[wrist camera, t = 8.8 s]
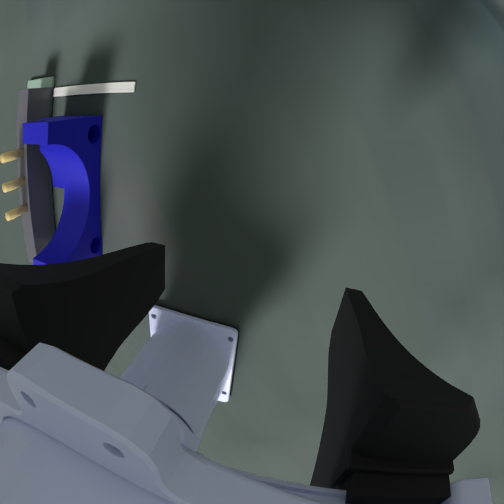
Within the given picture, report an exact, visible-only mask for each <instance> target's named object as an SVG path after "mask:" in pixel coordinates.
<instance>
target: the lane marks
mask: <svg viewBox="0 0 504 504" xmlns="http://www.w3.org/2000/svg"><path fill="white" fill-rule="evenodd" d="M135 84H136V82H115V83H99V84H87V85H77V86H67V87H59V88H54V96H53V97H58V96H68V95H80V94H96V93H120V92H135Z"/></svg>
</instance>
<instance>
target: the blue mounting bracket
mask: <svg viewBox="0 0 504 504" xmlns="http://www.w3.org/2000/svg"><path fill="white" fill-rule="evenodd" d="M101 128H102V116H58V117H51V118H44V119H41V120H39V121H32V122H26V123H23V144H38V145H40V152H41V153H42V154H43V155H44V157H45V158H46V160H47V162H48V164H49V167H50V169H51V173H52V178H53V186H54V187H60V188H65V193H64V205H63V210H62V215H61V218H60V221H59V224H58V227H57V229H56V231H55V233H54V235H53V237H52V239H51V240H50V242H49V243H48V245H47V246H46V247H45V248H44V249H43V250H42V251H41V252H40V253H39V254H38V255H37V256H35V257H34V258H33V263H34V265H45V264H56V263H65V262H72V261H78V260H83V259H88V258H92V257H96V256H99V255H102V241H101V221H100V148H101Z"/></svg>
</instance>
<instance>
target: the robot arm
mask: <svg viewBox="0 0 504 504" xmlns="http://www.w3.org/2000/svg"><path fill="white" fill-rule="evenodd" d="M164 289H165V245H161V244H157V243H153V242H151V243H144V244H140V245H136V246H132V247H129V248H125V249H122V250H118V251H115V252H111V253H107V254H103V255H99V256H96V257H92V258H88V259H83V260H78V261H72V262H65V263H56V264H45V265H14V264H2V263H0V504H492V500H491V493H490V487H489V481H488V478H478V479H466V480H459V481H456V482H453V483H451V484H450V481H449V475H451V474H452V473H453V471H454V465H453V460H454V459H455V458H456V457H457V456H458V455H459V454H460V453H461V452H462V451H463V450H464V449H465V448H466V447H467V446H468V445H469V444H470V443H471V442H472V440H473V439H474V438H475V436H476V435H477V433H478V431H479V428H480V418H479V415H478V411H477V408H476V405H475V401H474V398H473V397H472V396H470V395H468V394H467V393H465V392H463V391H461V390H459V389H457V388H456V387H454V386H452V385H450V384H449V383H447V382H446V381H444V380H443V379H441V378H440V377H438V376H437V375H436V374H434V373H433V372H432V371H430V370H429V369H428V368H426V367H425V366H424V365H423V364H422V363H420V362H419V361H418V360H417V359H416V358H415V357H414V356H412V355H411V354H410V353H409V352H408V351H407V350H406V349H405V348H404V346H403V345H402V344H401V343H400V342H399V341H398V340H397V339H396V338H395V337H394V335H393V334H392V333H391V332H390V330H389V329H388V328H387V327H386V325H385V324H384V323H383V321H382V320H381V319H380V317H379V316H378V314H377V313H376V311H375V310H374V309H373V307H372V306H371V304H370V303H369V301H368V300H367V298H366V297H365V295H364V294H363V292H362V291H359V290H355V289H350V288H346V289H345V292H344V295H343V298H342V302H341V305H340V308H339V311H338V314H337V317H336V320H335V323H334V326H333V329H332V333H331V340H330V347H329V358H328V396H327V409H326V415H325V421H324V427H323V432H322V437H321V442H320V447H319V451H318V456H317V460H316V464H315V468H314V472H313V476H312V480H311V484H310V485H304V484H298V483H293V482H288V481H283V480H278V479H273V478H269V477H264V476H260V475H256V474H252V473H248V472H244V471H240V470H237V469H233V468H229V467H226V466H223V465H221V464H219V463H217V462H215V461H212V460H210V459H208V458H206V457H205V456H204V455H203V454H201V453H199V452H197V449H198V447H199V445H200V443H201V441H202V440H201V436H202V433H203V431H204V429H205V427H206V425H207V422H208V420H209V418H210V416H211V414H212V411H213V409H214V407H215V405H216V403H217V400H219V401H222V402H227V401H228V400H229V397H230V390H231V383H232V375H233V368H234V361H235V354H236V347H237V339H238V331H237V330H236V329H235V328H232V327H229V326H225V325H221V324H218V323H214V322H210V321H207V320H203V319H200V318H197V317H193V316H190V315H186V314H183V313H180V312H176V311H173V310H170V309H167V308H163V307H160V306H157V305H155V304H156V302H157V301H158V299H159V297H160V296H161V294H162V293H163V291H164ZM148 313H149V321H150V335H151V338H150V339H149V340H148V342H147V343H146V344H145V346H144V347H143V348H142V349H141V351H140V352H139V353H138V354H137V356H136V357H135V358H134V359H133V361H132V362H131V363H130V364H129V366H128V367H127V368H126V370H125V371H124V372H123V373H122V375H121V376H120V377H119V378H118V377H116V376H114V375H111V374H109V373H107V372H105V371H104V370H105V368H106V367H107V365H108V363H109V362H110V360H111V359H112V357H113V356H114V354H115V352H116V351H117V349H118V348H119V347H120V345H121V344H122V343H123V341H124V340H125V339H126V338H127V337H128V336H129V334H130V333H131V332H132V331H133V330H134V329H135V327H136V326H137V325H138V324H139V323H140V322H141V321H142V320H143V318H144V317H145V316H146V315H147V314H148ZM154 314H155V315H156V316H155V315H154ZM229 337H232V338H233V339H231V338H229Z"/></svg>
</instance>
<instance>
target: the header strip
mask: <svg viewBox="0 0 504 504" xmlns="http://www.w3.org/2000/svg"><path fill="white" fill-rule="evenodd" d="M54 78H55V76H52V77H46V78H41V79H36V80H31V81H28V89H23V90H18V105H17V150H13V151H9V152H6V153H2V154H1V155H0V160H1V162H2V163H5V162H8V161H12V160H15V159H17V169H18V178H17V179H14V180H11V181H9V182H6V183H3V184H2V190H3V192H4V193H6V192H8V191H11V190H13V189H16V188H19V197H20V206H19V207H16V208H14V209H12V210H10V211H7V212H6V213H5V217H6V219H7V221H10V220H12V219H14V218H16V217H18V216H20V215H21V216H22V224H23V231H24V238H25V244H26V250H27V256H28V261H29V262H31V263H33V258H34V257H35V256H37V255H38V254H39V253H40V252H41V251H42V250H43V249H44V248H45V247H46V246H47V245H48V243H49V242H50V240H51V239H52V237H53V235H54V233H55V231H56V229H55V219H54V208H53V194H52V173H51V169H50V167H49V164H48V162H47V160H46V158H45V157H44V155H43V154H42V153H41V152H40V145H38V144H23V123H26V122H32V121H39V120H41V119H44V118H51V117H52V102H53V89H54ZM33 264H34V263H33Z"/></svg>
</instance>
